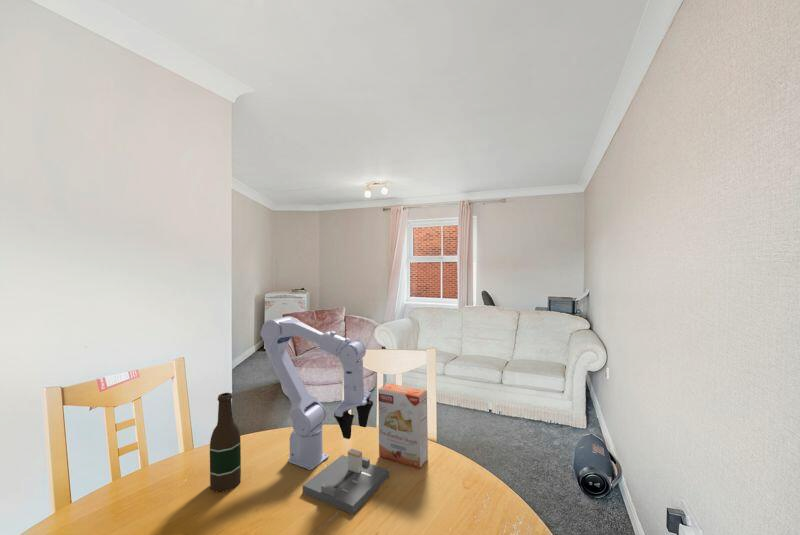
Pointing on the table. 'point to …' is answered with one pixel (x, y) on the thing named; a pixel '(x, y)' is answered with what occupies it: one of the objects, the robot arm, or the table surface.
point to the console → (346, 484)
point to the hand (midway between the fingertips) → (355, 432)
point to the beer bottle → (225, 448)
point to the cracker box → (403, 424)
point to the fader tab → (355, 460)
